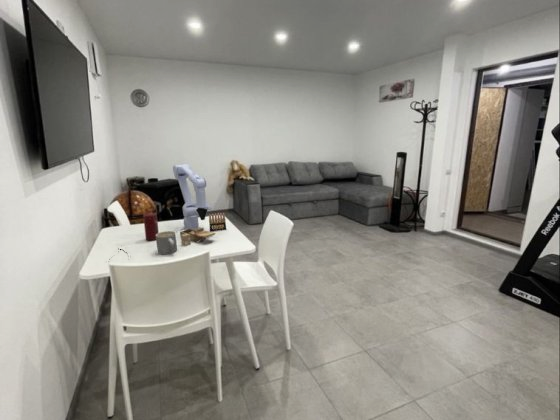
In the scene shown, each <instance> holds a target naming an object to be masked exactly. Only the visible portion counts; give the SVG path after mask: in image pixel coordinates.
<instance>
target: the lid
mask: <svg viewBox="0 0 560 420" xmlns="http://www.w3.org/2000/svg"><path fill="white" fill-rule="evenodd" d="M189 234H191V235H195V236H199V237H203V238H206V239H207V238H209V237H212V236H215V235H216V232H214V231H212V232H210V230H209V231H208V230H205V229H204V227H200V228H199V229H197V230H194V231H192V232H189Z"/></svg>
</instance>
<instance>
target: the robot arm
mask: <svg viewBox="0 0 560 420" xmlns="http://www.w3.org/2000/svg"><path fill="white" fill-rule="evenodd" d="M172 173H173V175H174V178H175V179H176V180H177V181H178V184H179V188H180V190H181V191H180V192H181V194H182V197H183V201H184V204H182V205H183V206H182V213H183V216H184V217H183V227H184V228H183V231H184V230H187V229H194V230H197V229H199V228H201V227H200V225H199V219H200V220H201V221H205V220H206V215H207V212H208V211H210V210H212V206H210V205H208V204H207V197H206V189H205V188H206V187H207V180H206V179H205V177H200V176H199V175H198V174H197V173H196V172H193V171H192V170H191V166H190V164H189V163H184V164H173V166H172ZM187 179H188V180H189V181H190V182H191V183H192V187H193V190H194V192H195V201H194V200H193V197H192V194H191V192H190V191H191V190H190V187H189V185H188V182H187Z"/></svg>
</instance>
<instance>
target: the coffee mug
mask: <svg viewBox="0 0 560 420" xmlns="http://www.w3.org/2000/svg"><path fill="white" fill-rule="evenodd" d="M155 241H156V249H157V254H158V255H161V256H167V255H171V254H174V253H176V252H177V251H178V245H177V237H176V232H175V231H171V230H166V231H160V232H157V233H156V234H155Z"/></svg>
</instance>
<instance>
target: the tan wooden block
mask: <svg viewBox="0 0 560 420" xmlns="http://www.w3.org/2000/svg"><path fill="white" fill-rule="evenodd" d="M180 240H181V241H180V242H181V246H184V247H187V246H189V245H191V242H192V241H190V234H183V235H181V236H180Z"/></svg>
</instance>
